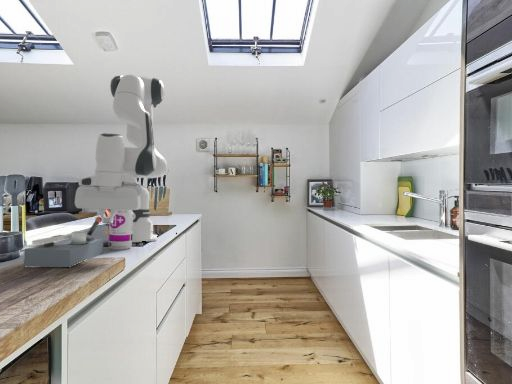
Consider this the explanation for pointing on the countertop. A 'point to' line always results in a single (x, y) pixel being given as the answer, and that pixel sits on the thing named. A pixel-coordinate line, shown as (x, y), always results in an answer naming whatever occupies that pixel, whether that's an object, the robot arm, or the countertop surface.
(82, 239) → the button
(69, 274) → the countertop surface
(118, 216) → the supplement can
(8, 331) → the countertop surface
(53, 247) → the console
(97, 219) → the lever
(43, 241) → the rocker
